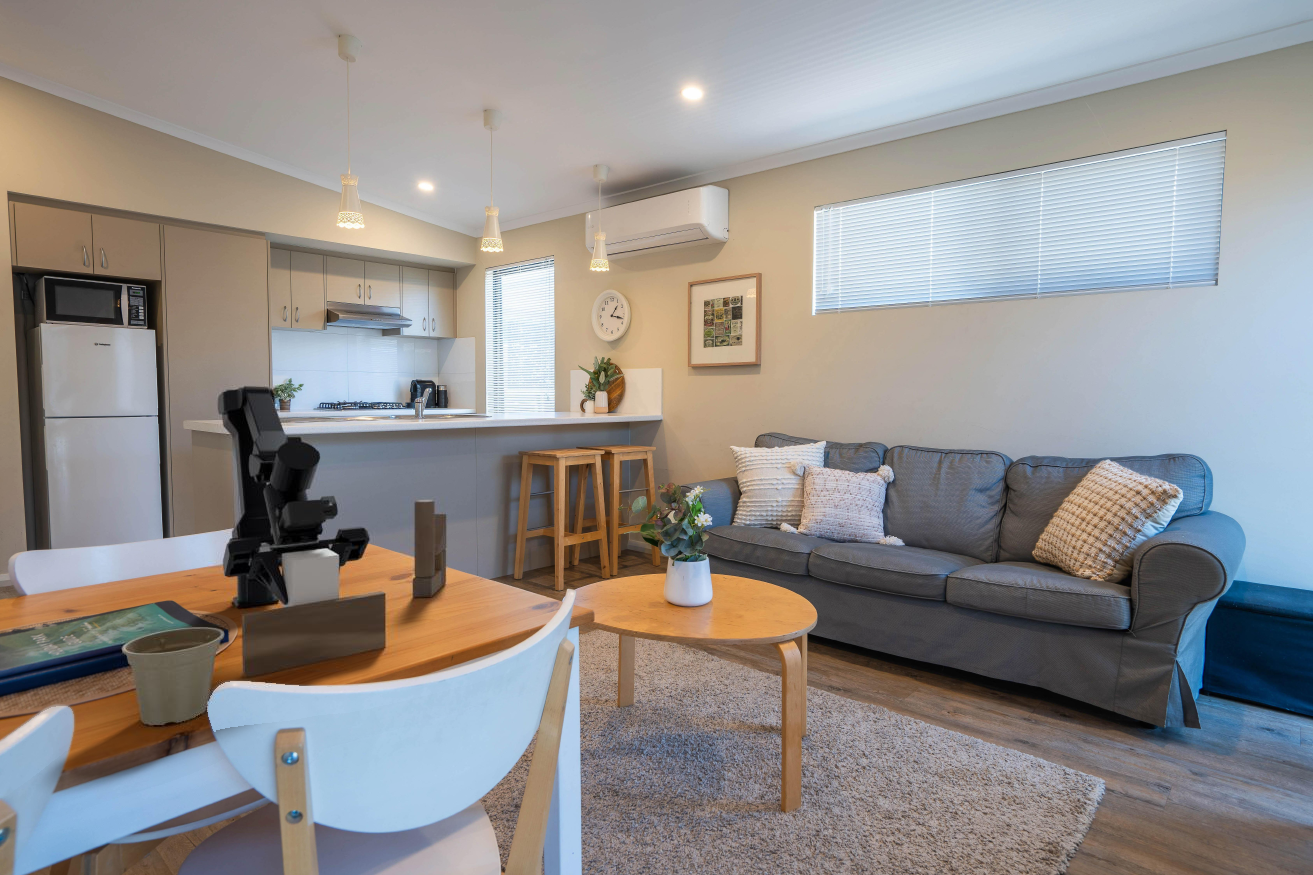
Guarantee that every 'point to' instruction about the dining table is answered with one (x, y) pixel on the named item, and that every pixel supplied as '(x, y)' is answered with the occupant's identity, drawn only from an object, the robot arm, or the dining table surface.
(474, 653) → the dining table surface
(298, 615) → the wall board
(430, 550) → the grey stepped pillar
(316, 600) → the white notched pillar
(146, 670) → the flower pot
